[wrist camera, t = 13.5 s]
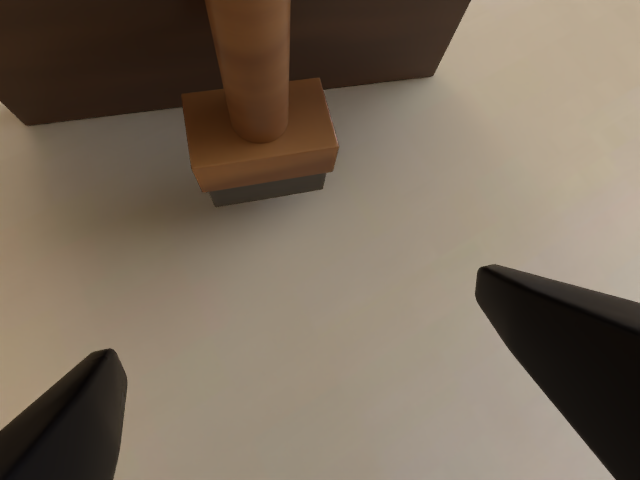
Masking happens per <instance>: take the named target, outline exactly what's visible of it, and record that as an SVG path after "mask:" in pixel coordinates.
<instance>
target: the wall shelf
mask: <svg viewBox="0 0 640 480" xmlns="http://www.w3.org/2000/svg"><path fill="white" fill-rule="evenodd" d="M470 1H471V0H291V7H290V58H289V81H293V80H302V79H310V78H320V80H321V84H322V88H323V89H329V88H338V87H346V86H354V85H362V84H370V83H378V82H386V81H395V80H403V79H411V78H419V77H427V76H433V75H434V73H435V71H436V69H437V67H438V65H439V63H440V61H441V59H442V57H443V55H444V53H445V51H446V49H447V47H448V45H449V43H450V41H451V39H452V37H453V35H454V33H455V31H456V29H457V27H458V25H459V23H460V21H461V19H462V17H463V15H464V13H465V11H466V9H467V7H468V5H469V3H470ZM217 89H224V88H223V83H222V79H221V74H220V69H219V65H218V60H217V55H216V51H215V46H214V41H213V37H212V32H211V27H210V23H209V18H208V14H207V9H206V4H205V0H0V101H1V102H2V103H3V104H4V105H5V106H6V107H7V108H8V109H9V110H10V111H11V112H12V113H13V114H14V115H15V116H16V117H17V118H18V119H19V120H20V121H21V122H22V123H24V124H25V125H26V126H28V125H36V124H44V123H52V122H61V121H69V120H77V119H85V118H93V117H101V116H109V115H118V114H126V113H134V112H142V111H150V110H158V109H166V108H175V107H183V106H182V99H181V94H183V93H192V92H200V91H209V90H217Z"/></svg>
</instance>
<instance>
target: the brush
mask: <svg viewBox="0 0 640 480" xmlns="http://www.w3.org/2000/svg"><path fill="white" fill-rule="evenodd" d="M205 4H206V9H207V14H208V18H209V23H210V27H211V32H212V37H213V41H214V46H215V51H216V55H217V60H218V65H219V69H220V74H221V79H222V83H223V88H224V89H217V90H209V91H200V92H192V93H183V94H181V99H182V106H183V113H184V120H185V127H186V134H187V141H188V148H189V155H190V163H191V169H192V171H193V173H194V175H195V177H196V179H197V182H198V184H199V186H200V188H201V190H202V192H209V194H210V196H211V198H212V201H213V203H214V205H215V207H221V206H226V205H232V204H238V203H244V202H250V201H256V200H262V199H268V198H274V197H280V196H286V195H292V194H297V193H303V192H309V191H315V190H321V189H323V186H324V181H325V177H326V173H328V172H332V171H333V169H334V165H335V161H336V157H337V153H338V149H339V144H338V140H337V137H336V133H335V130H334V126H333V123H332V119H331V116H330V112H329V109H328V105H327V102H326V98H325V95H324V91H323V88H322V84H321V80H320V78H310V79H302V80H293V81H289V58H290V7H291V0H205Z"/></svg>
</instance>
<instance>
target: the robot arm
mask: <svg viewBox="0 0 640 480" xmlns="http://www.w3.org/2000/svg"><path fill="white" fill-rule="evenodd" d="M475 297H476V300H477V302H478V304H479V306H480V307H481V309H482V310H483V312H484V313H485V315H486V316H487V318H488V319H489V321H490V322H491V324H492V325H493V327H494V328H495V330H496V331H497V333H498V334H499V336H500V337H501V339H502V340H503V342H504V343H505V344H506V346H507V347H508V349H509V350H510V351H511V353H512V354H513V355H514V356H515V358H516V359H517V360H518V361H519V363H520V364H521V365H522V366H523V367H524V369H525V370H526V371H527V372H528V373H529V375H530V376H531V377H532V378H533V380H534V381H535V382H536V383H537V384H538V386H539V387H540V388H541V389H542V391H543V392H544V393H545V394H546V395H547V397H548V398H549V399H550V400H551V401H552V403H553V404H554V405H555V406H556V408H557V409H558V410H559V411H560V412H561V414H562V415H563V416H564V417H565V419H566V420H567V421H568V422H569V423H570V425H571V426H572V427H573V428H574V429H575V431H576V432H577V433H578V434H579V436H580V437H581V438H582V439H583V440H584V442H585V443H586V444H587V445H588V446H589V448H590V449H591V450H592V451H593V453H594V454H595V455H596V456H597V457H598V459H599V460H600V461H601V462H602V464H603V465H604V466H605V467H606V468H607V470H608V471H609V472H610V473H611V474H612V476H613V477H614V478H615V479H616V480H640V303H638V302H634V301H630V300H627V299H623V298H619V297H616V296H612V295H608V294H604V293H601V292H597V291H593V290H589V289H586V288H582V287H578V286H574V285H571V284H567V283H563V282H559V281H556V280H552V279H548V278H545V277H541V276H537V275H533V274H530V273H526V272H522V271H518V270H515V269H511V268H507V267H503V266H500V265H496V264H493V265H488V266H483V267H481V268H479V270H478V272H477V280H476V290H475ZM126 393H127V376H126V373H125V371H124V369H123V367H122V364H121V362H120V360H119V358H118V355H117V353H116V352H115V350H114V349H111V348H109V349H104V350H100V351H95V352H92V353H91V354H89V355H88V356H87V357H86V358H85V359H84V360H82V361H81V362H80V363H79V364H78V365H77V366H75V367H74V368H73V369H72V370H71V371H70V372H68V373H67V374H66V375H65V376H64V377H63V378H61V379H60V380H59V381H58V382H57V383H56V384H54V385H53V386H52V387H51V388H50V389H49V390H47V391H46V392H45V393H44V394H43V395H42V396H40V397H39V398H38V399H37V400H36V401H35V402H33V403H32V404H31V405H30V406H29V407H28V408H26V409H25V410H24V411H23V412H22V413H21V414H19V415H18V416H17V417H16V418H15V419H14V420H12V421H11V422H10V423H9V424H8V425H7V426H5V427H4V428H3V429H2V430H1V431H0V480H113V478H114V473H115V469H116V465H117V460H118V455H119V450H120V443H121V436H122V427H123V419H124V410H125V402H126Z"/></svg>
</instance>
